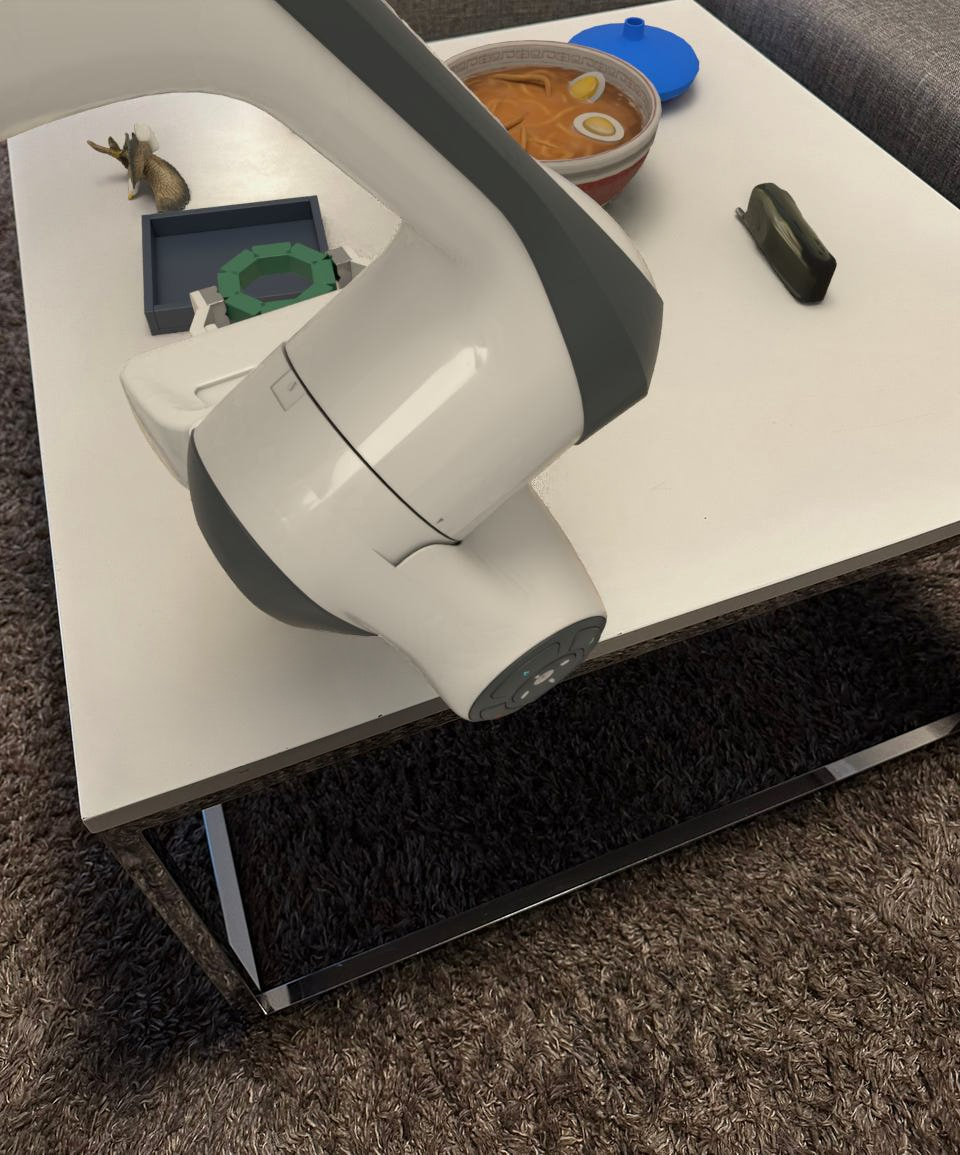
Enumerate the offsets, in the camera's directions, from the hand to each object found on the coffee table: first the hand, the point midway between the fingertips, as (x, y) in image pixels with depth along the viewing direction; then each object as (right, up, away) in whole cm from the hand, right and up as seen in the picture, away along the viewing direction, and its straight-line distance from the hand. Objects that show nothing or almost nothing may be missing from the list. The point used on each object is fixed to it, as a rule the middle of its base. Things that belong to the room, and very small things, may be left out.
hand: (271, 278), depth 54 cm
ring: (0, -1, 0) cm, 1 cm away
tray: (-10, +11, +35) cm, 38 cm away
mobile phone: (+40, +13, +38) cm, 57 cm away
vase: (+29, +40, +56) cm, 75 cm away
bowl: (+17, +22, +43) cm, 52 cm away
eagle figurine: (-22, +22, +43) cm, 53 cm away
